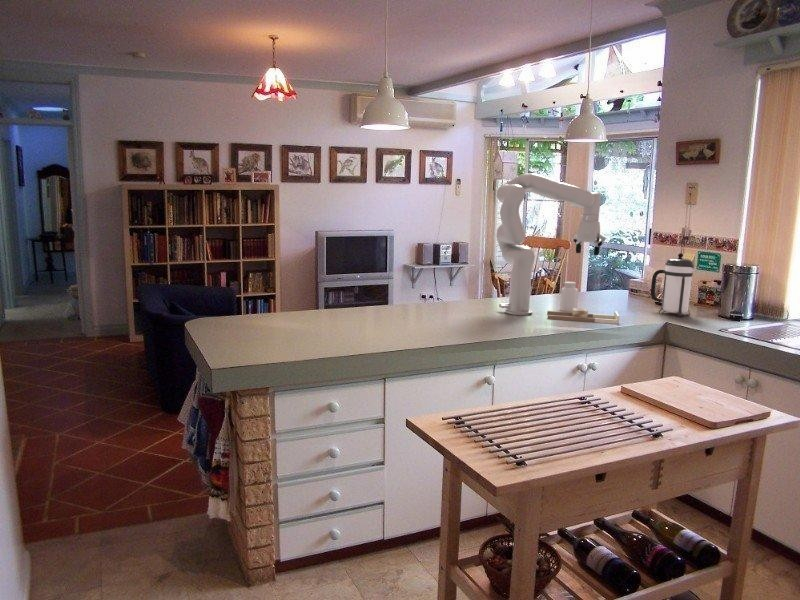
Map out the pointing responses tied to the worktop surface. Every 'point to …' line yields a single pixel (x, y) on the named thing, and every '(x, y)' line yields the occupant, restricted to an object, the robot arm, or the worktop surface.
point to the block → (579, 312)
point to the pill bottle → (569, 297)
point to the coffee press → (675, 285)
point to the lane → (590, 317)
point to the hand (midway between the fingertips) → (587, 254)
